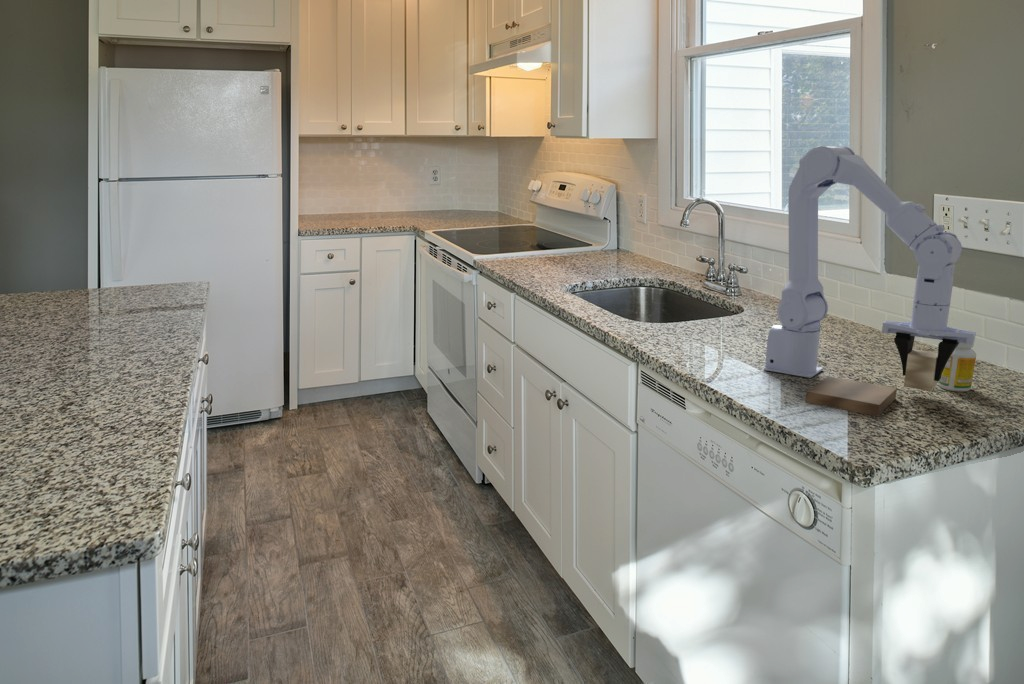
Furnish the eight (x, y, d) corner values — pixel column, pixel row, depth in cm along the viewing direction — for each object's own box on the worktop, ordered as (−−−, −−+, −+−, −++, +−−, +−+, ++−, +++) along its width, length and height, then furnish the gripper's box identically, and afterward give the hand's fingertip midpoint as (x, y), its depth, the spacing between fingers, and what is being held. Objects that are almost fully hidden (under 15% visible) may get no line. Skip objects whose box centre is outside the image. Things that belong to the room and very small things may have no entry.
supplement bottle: (934, 388, 146) (941, 338, 143) (942, 382, 149) (949, 333, 147) (966, 394, 142) (974, 343, 140) (974, 387, 146) (981, 338, 144)
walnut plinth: (805, 402, 137) (806, 391, 137) (826, 386, 147) (827, 376, 146) (877, 416, 130) (879, 404, 130) (895, 398, 139) (897, 388, 139)
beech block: (903, 386, 140) (907, 354, 138) (909, 380, 143) (913, 349, 142) (931, 391, 137) (936, 358, 136) (936, 385, 140) (941, 353, 139)
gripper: (881, 301, 138) (872, 374, 141) (974, 311, 129) (963, 389, 132) (891, 295, 143) (882, 366, 146) (981, 305, 134) (970, 380, 138)
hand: (921, 377), depth 140 cm, fingers closed on beech block, 4 cm apart
